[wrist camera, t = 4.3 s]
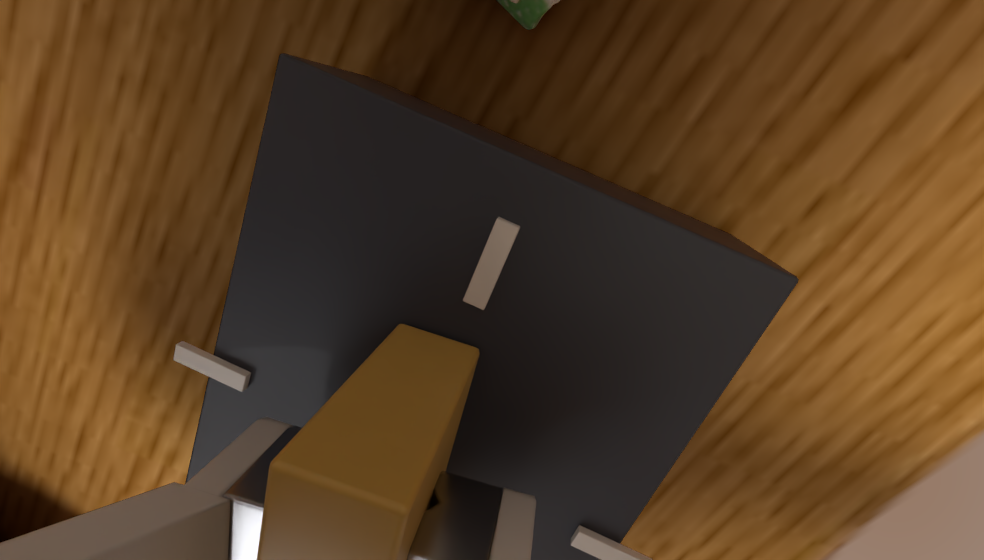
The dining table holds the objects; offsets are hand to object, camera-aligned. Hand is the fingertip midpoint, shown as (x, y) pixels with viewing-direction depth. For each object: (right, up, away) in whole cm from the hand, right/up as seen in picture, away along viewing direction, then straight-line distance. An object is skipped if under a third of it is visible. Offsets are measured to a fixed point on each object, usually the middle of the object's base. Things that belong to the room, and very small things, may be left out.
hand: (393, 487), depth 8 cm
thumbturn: (0, 0, +1) cm, 1 cm away
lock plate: (+1, +1, +4) cm, 4 cm away
